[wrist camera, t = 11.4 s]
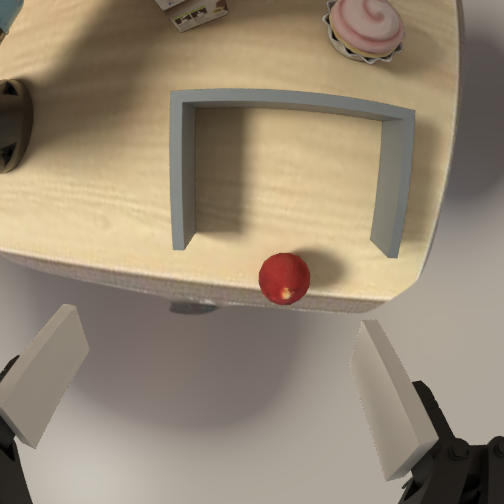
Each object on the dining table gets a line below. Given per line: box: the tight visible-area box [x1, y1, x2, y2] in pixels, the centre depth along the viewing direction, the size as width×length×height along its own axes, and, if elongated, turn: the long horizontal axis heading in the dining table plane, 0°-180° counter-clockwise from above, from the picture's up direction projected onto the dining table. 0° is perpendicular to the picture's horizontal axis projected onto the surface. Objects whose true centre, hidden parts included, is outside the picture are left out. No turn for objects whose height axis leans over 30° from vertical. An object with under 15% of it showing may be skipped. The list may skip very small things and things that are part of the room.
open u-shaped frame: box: [169, 89, 415, 258], centre depth 30 cm, size 24×16×6 cm, turn 88°
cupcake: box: [322, 0, 405, 64], centre depth 22 cm, size 9×9×10 cm
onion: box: [259, 253, 310, 305], centre depth 33 cm, size 6×6×8 cm
